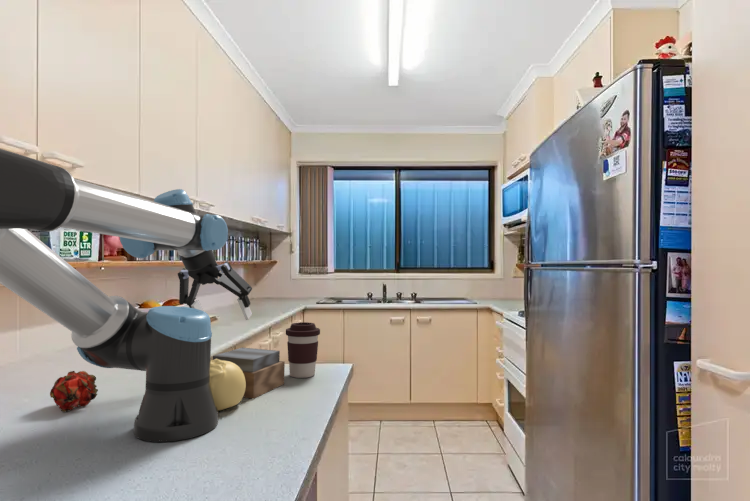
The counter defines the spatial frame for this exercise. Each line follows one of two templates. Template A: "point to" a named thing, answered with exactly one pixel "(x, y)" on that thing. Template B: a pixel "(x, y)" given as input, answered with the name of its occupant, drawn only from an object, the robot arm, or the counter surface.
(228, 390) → the pale yellow round lump
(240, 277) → the robot arm
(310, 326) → the coffee cup
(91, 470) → the counter surface
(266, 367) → the gray topped wooden block
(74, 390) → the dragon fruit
